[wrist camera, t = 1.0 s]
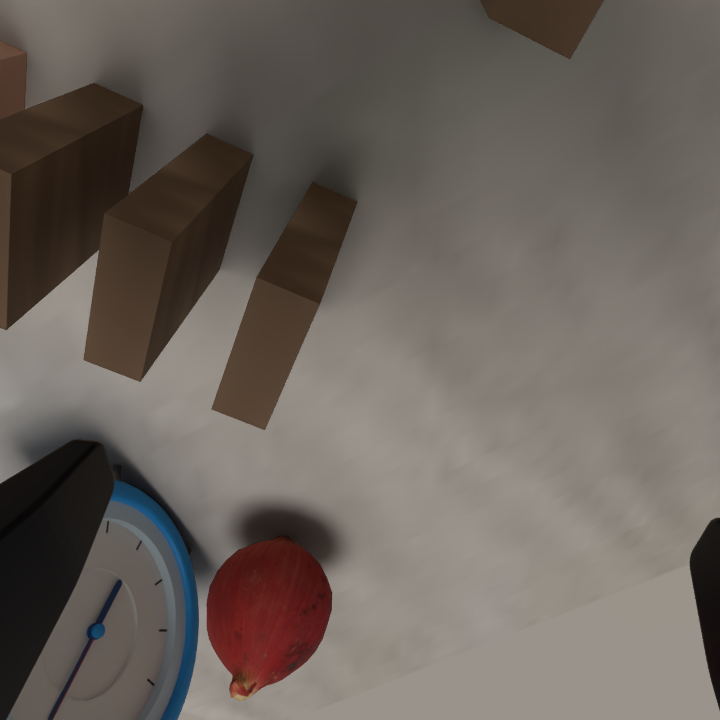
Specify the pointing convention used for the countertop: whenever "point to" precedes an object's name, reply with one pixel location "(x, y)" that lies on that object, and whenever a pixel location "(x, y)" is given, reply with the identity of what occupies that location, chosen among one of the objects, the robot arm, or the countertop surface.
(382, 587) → the countertop surface
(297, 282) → the tile
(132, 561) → the alarm clock
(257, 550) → the onion
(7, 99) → the tile
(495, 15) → the tile
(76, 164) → the tile
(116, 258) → the tile
